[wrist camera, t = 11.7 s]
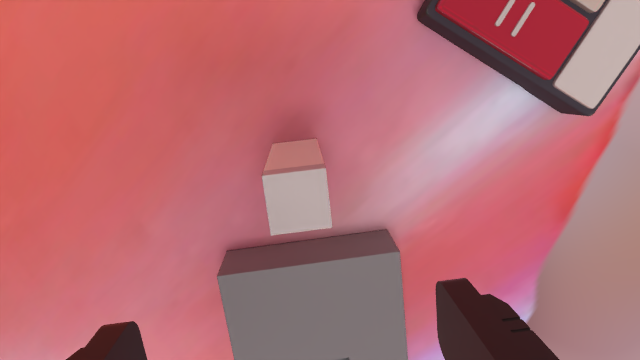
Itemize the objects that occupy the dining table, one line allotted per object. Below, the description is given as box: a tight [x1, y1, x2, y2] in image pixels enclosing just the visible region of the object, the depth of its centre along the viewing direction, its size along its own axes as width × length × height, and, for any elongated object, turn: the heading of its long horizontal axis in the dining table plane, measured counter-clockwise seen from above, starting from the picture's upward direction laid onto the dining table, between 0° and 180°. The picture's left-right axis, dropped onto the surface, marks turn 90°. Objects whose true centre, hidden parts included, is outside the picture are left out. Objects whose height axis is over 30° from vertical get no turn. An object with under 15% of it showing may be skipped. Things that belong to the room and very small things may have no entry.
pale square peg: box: [262, 138, 332, 235], centre depth 28 cm, size 4×4×11 cm
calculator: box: [417, 0, 640, 116], centre depth 30 cm, size 11×4×15 cm
